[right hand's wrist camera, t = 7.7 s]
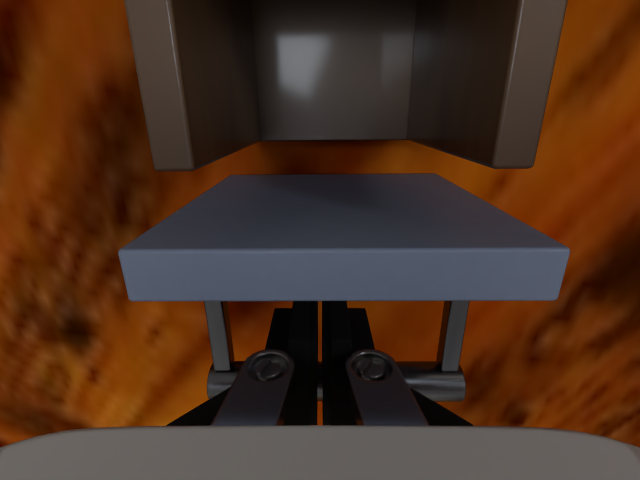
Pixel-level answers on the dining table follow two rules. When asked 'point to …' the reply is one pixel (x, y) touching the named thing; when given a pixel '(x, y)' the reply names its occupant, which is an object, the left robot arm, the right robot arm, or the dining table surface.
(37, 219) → the dining table surface
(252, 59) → the drawer
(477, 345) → the dining table surface
